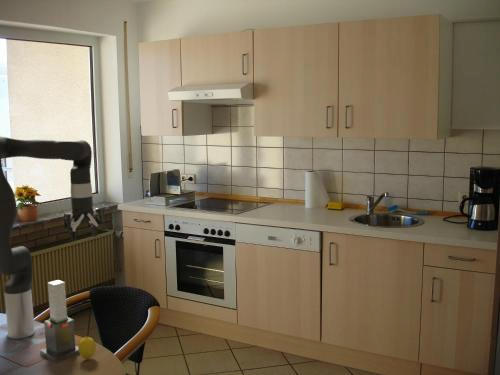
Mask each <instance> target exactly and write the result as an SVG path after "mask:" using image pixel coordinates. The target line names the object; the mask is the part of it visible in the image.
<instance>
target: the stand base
mask: <svg viewBox="0 0 500 375" xmlns="http://www.w3.org/2000/svg"><path fill="white" fill-rule="evenodd" d="M67 317H68V320H67V321H65V322H62V323H59V324H54V323H52V322H51V321H50V318H49V319H46V320H44V321H43V322H44V334H45V348H42V349H41V350H39V354H40V355H41V356H43V357H44V358H46V359H48V360H49V361H50V362H52V363H59V362H63V361H64V360H66V359H70V358H73V357H74V355H75V356H77V355H80V354H79V349H78V347H79V345H78V346H77V345H76V336H75V335H76V334H75V320H74V319H73V318H71V317H69V316H67Z"/></svg>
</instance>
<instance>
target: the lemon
mask: <svg viewBox="0 0 500 375" xmlns="http://www.w3.org/2000/svg"><path fill="white" fill-rule="evenodd" d="M96 348H97V346H96V342H95V341H94V339H93V338H92V337H89V336H85V337H83V338H82V339H80V341H79V343H78V349H79V354H78V355H80V357H82V358H83V359H86V360H89V359H91V358H92V357H94V355H95V353H96Z"/></svg>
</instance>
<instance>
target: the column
mask: <svg viewBox="0 0 500 375" xmlns="http://www.w3.org/2000/svg"><path fill="white" fill-rule="evenodd" d="M47 291H48V305H49V319H50V321H51V322H52V323H54V324H59V323H62V322H65V321H67V320H68V317H69V316H68V310H67V296H66V282H65V281H62V280H60V279H56V280H52V281H48V282H47Z"/></svg>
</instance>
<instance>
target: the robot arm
mask: <svg viewBox="0 0 500 375" xmlns="http://www.w3.org/2000/svg"><path fill="white" fill-rule="evenodd" d="M92 151H93V150H92V148H91V145H90V143H89V142H88V141H86V140H83V139H80V140H73V141H70V140H67V141H66V140H63V141H61V140H58V139H17V138H12V137H6V136H1V135H0V274H1V275H3V276H5V277H6V276H7V277H8V276H11V277H10V278H9V280H7V282H5V283H4V285H3V290H4V291H3V292H4V302H5V316H6V324H7V337H8V338H9V339H12V340H14V339H15V340H19V339H25V338H28V337H31V336H33V335H34V334H35V320H34V308H33V307H34V306H33V295H32V294H33V293H32V283H33V258H32V255H31V252H30V250H29V249H28V248H27V247H26V246H23V245H21V246H16V247H12V246H11V245H12V244H11V234H12V231H13V227H14V224H15V222H16V219H17V215H18V207H17V206H18V205H17V201H16V196H15V193H14V190H13V188H12V186H11V184H10V182H9V181H8V179H7V177H6V176H5V173H4V170H3V165H2V164H3V163H2V160H3V159H8V158H17V157H19V158H20V157H22V158H32V159H39V160H40V159H43V160H64V161H72V162H73V163H72V164H73V165H72V167H71V169H70V171H69V173H70V175H69V176H70V202H71V210H72V212H71V213H70V212H69V213H67V212H65V213H64V214H63V228H64V230H66V231H69V239H70V240H71V241H72V242H76V241H77V230H76V229H77V227H78V226H79V225H81V224H84V223H89V224H90V226H91V236H92V237H93V238H95V237H97V236H98V226H99V225H102V224H103V220H102V219H103V218H102V211H101V210H102V209H101V208H98V207H95V208H94V209H93V207H94V200H93V186H92V180H91V166H92V156H93V152H92ZM93 215H94V217H93ZM72 218H73V219H72Z"/></svg>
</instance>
